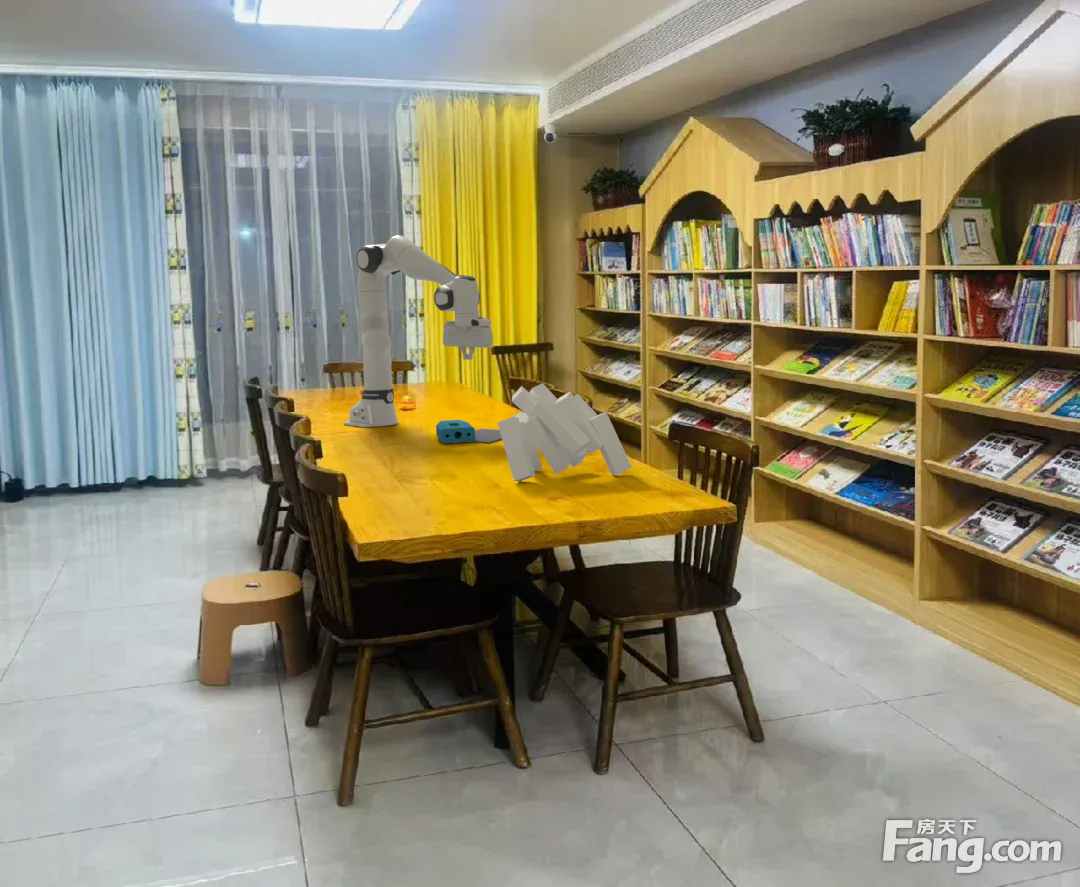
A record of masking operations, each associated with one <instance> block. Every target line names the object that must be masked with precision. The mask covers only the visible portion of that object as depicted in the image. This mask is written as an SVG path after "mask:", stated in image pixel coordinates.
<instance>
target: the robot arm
mask: <svg viewBox="0 0 1080 887" xmlns="http://www.w3.org/2000/svg"><path fill="white" fill-rule="evenodd" d="M356 264H357V266H358V268H359V270H358V276H357V293H358V306H359V307H358V310H359V325H360V326H359V327H360V328H359V329H360V330H359V332H360V343H361V345H362V363H363V364H362V365H363V366H362V367H363V369H362V372H363V386H364V389H363V390H362V391H360V392H359V395H361V399H360V400H359V401H358V402H357V403H356V404H355V405H354V406H352V407H351V408H350V410H349V419H348V420H346V421H343V425H346V426H352V427H361V428H372V427H386V426H387V427H388V426H394V425H397V424H399V420H398V417H397V413H396V408H395V403H394V402H395V401H394V400H395V391H394V388H393V376H392V374H393V373H392V342H391V341H392V340H391V339H392V338H391V336H390V333H389V311H388V310H389V309H388V308H389V307H388V293H387V292H388V291H387V277H388V275H389V274H391V275H392V276H393V275H396V274H398V273H400V272H402V274H404V276H407V277H408V278H410V279H413V280H420V281H429V282H433V283H437V284H439V286H437V288H436V289H435V292H434V294H433V301H434V305H435V307H436V308H437V309H438V310H439V311H440V312H441V311H442V312H454V320H447V321H446V322H444V323H443V333H442V344H443V346H444V347H454V348H455V347H457V348H458V347H459V350H460V352H461V354H462V358H463V360H465V361H467V360H468V361H469V360H473V355H474V353H475V351H476V348H482V349H483V348H484V349H487V348H492V347H493V345H494V337H493V336H494V335H493V334H494V333H493V329H492V328H491V327H490V326H491V325H492V320H490V319H488V318H487V317H483V316H481V315H480V310H479V304H480V300H481V295H480V294H481V293H480V291H479V285H478V281H477V279H476V278H475V277H474V276H471V275H463V274H459V275H457V274H455V273H454V272H453V271H451V270H450V269H448V267H446V266H445V265H444V264H442V263H440V262H438V261H437V260H435V259H434V258H432V257H431V256H430V255H429V254H427V253H426V252H424V251H423V250H422V249H421V248H420V247H419V246H418V245H417V244H416V243H414V242H413V241H412V240H410V239H409V238H407V237H405V236H403V235H399V234H398V235H394V236H392V237H391V238H389V239H388V240H387V243H380V244H379V243H377V244H368V245H364V246H362V247H360V248H359V250H358V251H357V253H356ZM467 349H468V351H469V352H467Z"/></svg>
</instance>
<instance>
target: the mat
mask: <svg viewBox="0 0 1080 887" xmlns="http://www.w3.org/2000/svg"><path fill="white" fill-rule="evenodd" d="M500 441H502V437H501V434H500V430H499V429H495V428H493V429H492V428H479V429H475V440H474V441H470V442H469V443H475V444H485V445H486V444H488V445H490V444H492V443H497V442H500Z"/></svg>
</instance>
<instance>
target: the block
mask: <svg viewBox="0 0 1080 887" xmlns="http://www.w3.org/2000/svg"><path fill="white" fill-rule="evenodd" d="M475 430H476V429H475V427H474V426H473V425H471V424H470V423H469V422H468V421H465V420H462V419H450V420H449V419H448V420H439V422H438V423H437V424H436V425H435V431H436V437H437V438H438V439H439V440H440V442H441V443H442V444H451V443H452V444H453V443H455V444H456V443H471V442H470V441H474V440H475Z"/></svg>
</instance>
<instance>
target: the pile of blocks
mask: <svg viewBox="0 0 1080 887" xmlns="http://www.w3.org/2000/svg"><path fill="white" fill-rule="evenodd" d="M511 402H512V403H513V404H514V405H516V406H517V407H518V408H519V409H520V411H521V412H520V413H517V414H514V415H513V416H512V417H509V418H506V419H503V420H500V421H497V427H498V430H500V434H501V437H502V440H501V441H502V444H503V447H504V451H505V453H506V454H505V455H506V458H507V462H508V464H509V468H510V472H511V475H512V477H513V479H512V480H513V481H514V482H523V481H525V480H528V479H531V478H534V477H536V472H537V471H541V470H542V469H543V468H542V463H541V459H540V454H539V450H540V451H541V453H542V455H543V457H544V458H545V460H546V462H547V463H548V464H549V466H550V468H551V470H553V472H554V473H555V475H558V474H559V473H562V472H563V471H565V470H567V469H569V466H571V467H572V468H575V467H576V466H578V465H580V464H581V463H582V462H583V461H584V460H585V458H586V456H587V454H588V455H590V454H593V453H595V452H596V451H598V450H599V451H600V453H601V455H602V457H603V460H604V461H605V464H606V465H607V467H608V471H609V472H610V474H611V476H612V477H613V476H618V475H620V474H623V473H624V472H626V471H628V470H630V469H632V467H633V466H632V464H631V462H630V460H629V457H628V456H627V454H626V452H625V449H624V447H623V445H622V443H621V441H620V439H619V437H618V433H617V432H616V430H615V427H614V426H613V423H612V422H611V419H610V417H609V415H608V413H607V412H601V413H599V414H597V413H596V412H595V411H594V409H593V408H592V407H591V406H590V405H589V404H588V403H587V402H586V401H585V400H584V399H583V397H581V395H580V394H575V395H573V393H572V392H571V391H569V392H567V393H565V394H563V395H562V396H560V397H559V398H557V397H556V396H555V394H553V393H552V391H551V390H550V389H549V388H547V386H546V384H544V383H540V384H537V385H536V386H534V387H532V388H531V389H530V390H529V391H528V390H527V389H526V388H524V387H523V386H520V387H519V388H518V390H516V391H515V392H514V394H512V397H511Z"/></svg>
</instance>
